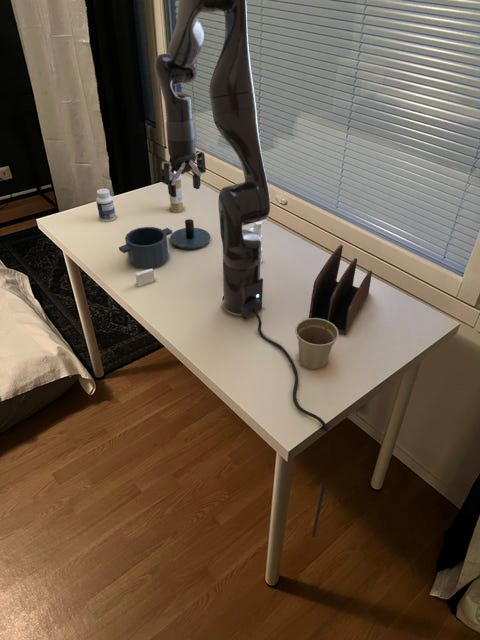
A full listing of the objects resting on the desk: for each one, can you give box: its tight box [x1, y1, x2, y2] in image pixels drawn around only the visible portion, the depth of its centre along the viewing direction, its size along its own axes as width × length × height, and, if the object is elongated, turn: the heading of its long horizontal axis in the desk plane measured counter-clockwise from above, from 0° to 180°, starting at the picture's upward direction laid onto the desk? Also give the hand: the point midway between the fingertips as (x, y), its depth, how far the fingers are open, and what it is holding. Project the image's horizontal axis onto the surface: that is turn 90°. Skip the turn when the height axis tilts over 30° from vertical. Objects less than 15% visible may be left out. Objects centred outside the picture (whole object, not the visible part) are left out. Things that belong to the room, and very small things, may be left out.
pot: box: [118, 226, 173, 270], centre depth 145 cm, size 12×17×7 cm
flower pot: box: [294, 317, 340, 370], centre depth 111 cm, size 9×9×9 cm
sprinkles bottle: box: [169, 171, 185, 213], centre depth 169 cm, size 5×5×14 cm
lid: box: [169, 218, 211, 250], centre depth 154 cm, size 13×13×7 cm
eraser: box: [134, 268, 155, 287], centre depth 137 cm, size 1×5×4 cm, turn 122°
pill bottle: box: [95, 187, 116, 222], centre depth 165 cm, size 5×5×10 cm
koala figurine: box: [247, 220, 265, 263], centre depth 143 cm, size 8×7×12 cm
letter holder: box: [308, 244, 373, 336], centre depth 124 cm, size 10×20×14 cm, turn 152°
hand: (185, 192), depth 144 cm, fingers open, 8 cm apart
